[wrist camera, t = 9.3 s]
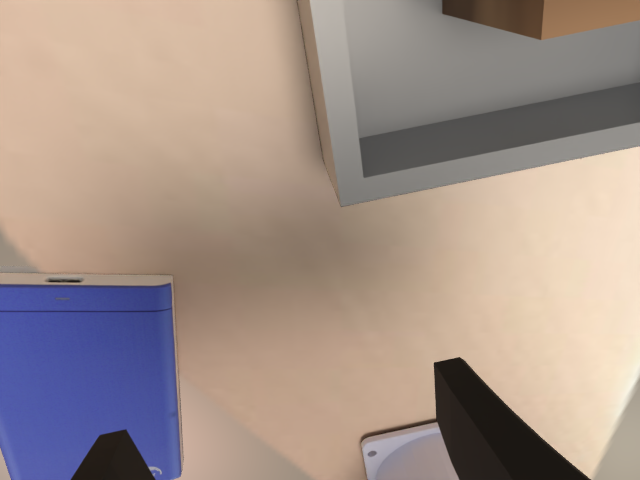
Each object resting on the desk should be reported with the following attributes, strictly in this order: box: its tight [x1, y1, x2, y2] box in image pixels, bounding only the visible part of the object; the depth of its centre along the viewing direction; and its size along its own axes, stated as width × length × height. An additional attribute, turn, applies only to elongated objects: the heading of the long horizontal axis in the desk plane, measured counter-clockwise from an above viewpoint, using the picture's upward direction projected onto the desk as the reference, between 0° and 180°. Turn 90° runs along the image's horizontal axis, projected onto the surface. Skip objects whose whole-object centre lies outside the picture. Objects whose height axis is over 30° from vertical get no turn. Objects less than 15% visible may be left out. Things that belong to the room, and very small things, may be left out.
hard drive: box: [0, 266, 184, 480], centre depth 22 cm, size 2×8×12 cm
